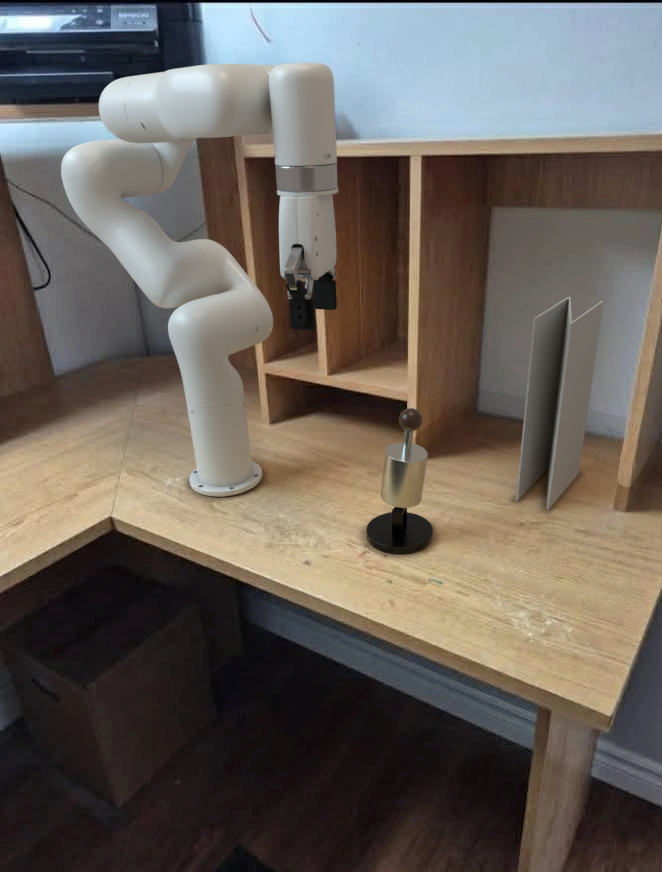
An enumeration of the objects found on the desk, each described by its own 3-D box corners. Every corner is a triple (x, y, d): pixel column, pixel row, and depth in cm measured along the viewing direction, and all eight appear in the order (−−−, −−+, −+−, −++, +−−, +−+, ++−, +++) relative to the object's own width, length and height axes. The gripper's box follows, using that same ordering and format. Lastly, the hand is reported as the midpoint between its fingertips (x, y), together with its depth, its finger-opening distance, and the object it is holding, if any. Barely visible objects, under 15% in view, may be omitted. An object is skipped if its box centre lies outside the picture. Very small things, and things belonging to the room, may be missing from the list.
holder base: (437, 521, 107) (438, 491, 105) (426, 558, 99) (427, 526, 96) (375, 514, 110) (374, 485, 107) (359, 549, 101) (358, 518, 99)
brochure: (548, 465, 122) (568, 296, 108) (578, 473, 120) (604, 300, 105) (515, 500, 112) (533, 318, 98) (548, 509, 110) (571, 323, 95)
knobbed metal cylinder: (436, 404, 96) (394, 397, 97) (429, 421, 91) (385, 414, 92) (422, 506, 104) (383, 499, 105) (415, 527, 99) (374, 519, 100)
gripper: (300, 173, 93) (308, 301, 101) (251, 188, 78) (265, 336, 86) (354, 173, 91) (358, 303, 99) (314, 188, 76) (322, 339, 85)
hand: (315, 318), depth 93 cm, fingers open, 9 cm apart
